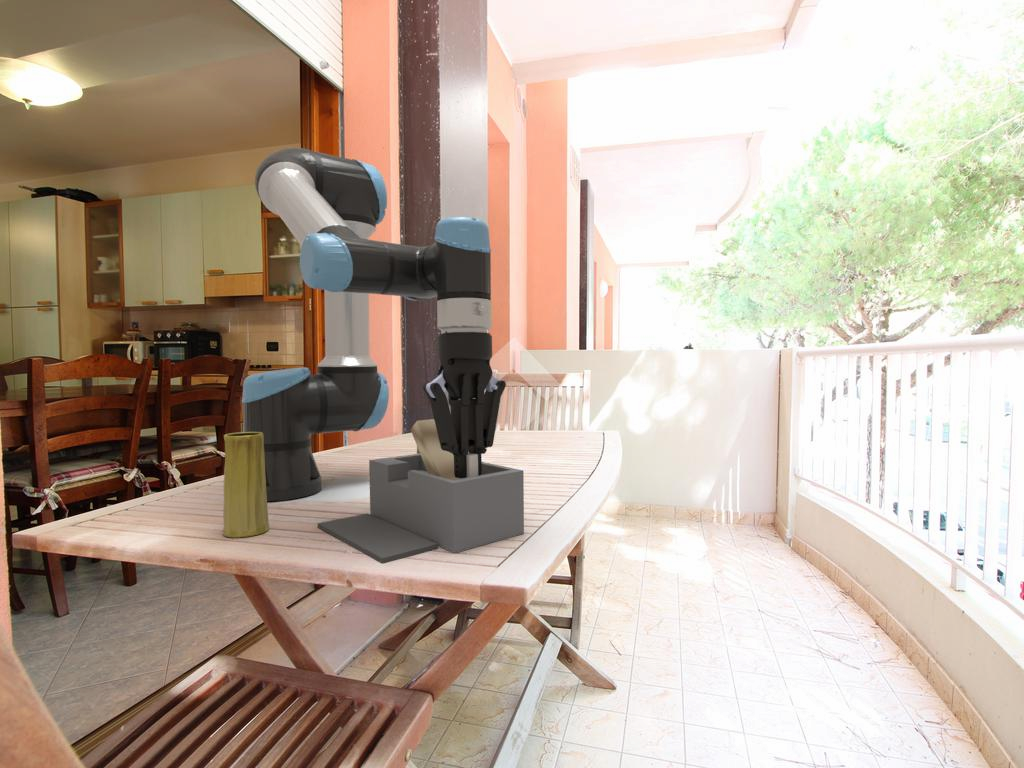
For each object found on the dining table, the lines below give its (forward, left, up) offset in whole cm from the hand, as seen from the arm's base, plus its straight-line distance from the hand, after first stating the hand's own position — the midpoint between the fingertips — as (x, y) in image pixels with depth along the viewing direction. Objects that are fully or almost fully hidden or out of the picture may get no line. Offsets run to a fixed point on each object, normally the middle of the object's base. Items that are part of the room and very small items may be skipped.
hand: (468, 499), depth 78 cm
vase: (-23, -23, -5) cm, 33 cm away
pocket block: (-6, 0, -5) cm, 8 cm away
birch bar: (-7, 0, +2) cm, 7 cm away
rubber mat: (-8, -10, -5) cm, 14 cm away
